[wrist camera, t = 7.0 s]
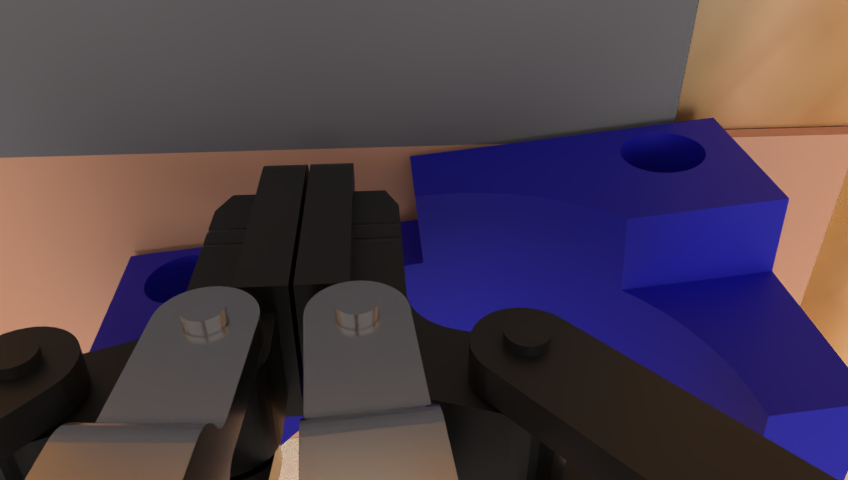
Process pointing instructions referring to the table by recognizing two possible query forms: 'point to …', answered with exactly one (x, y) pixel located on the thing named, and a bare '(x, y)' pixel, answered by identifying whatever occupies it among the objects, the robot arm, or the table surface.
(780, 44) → the table surface
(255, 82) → the t mat
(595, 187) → the blue cradle block
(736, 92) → the table surface
